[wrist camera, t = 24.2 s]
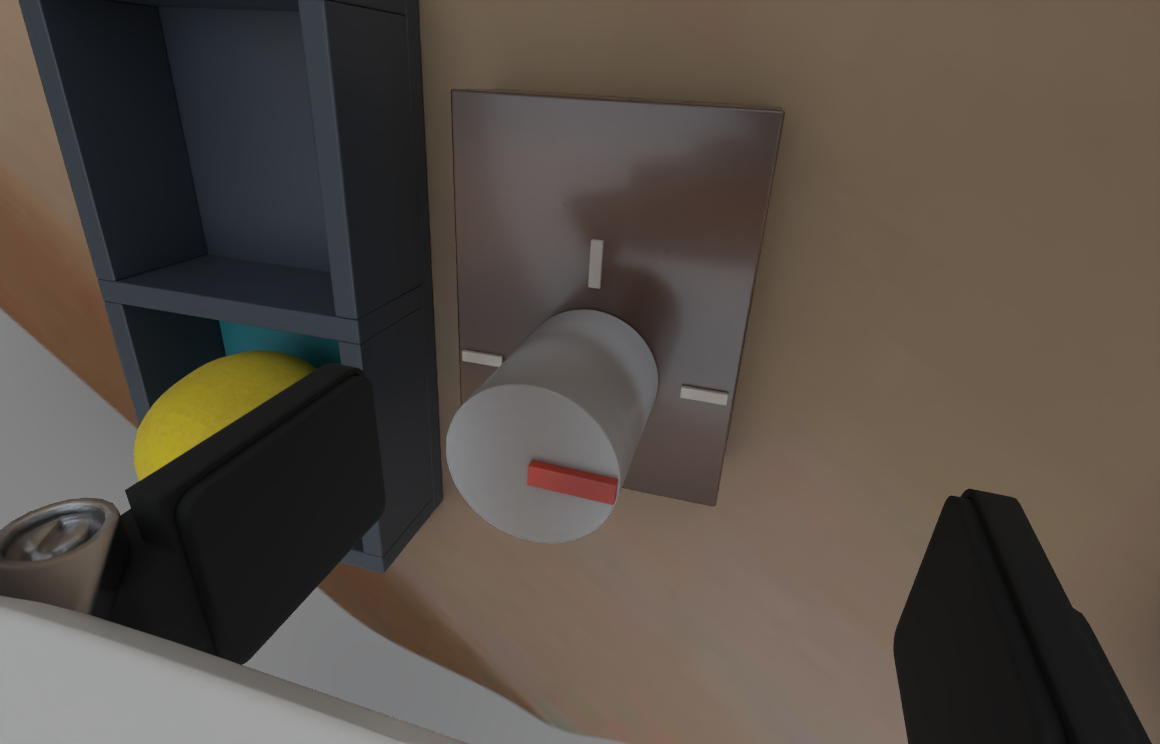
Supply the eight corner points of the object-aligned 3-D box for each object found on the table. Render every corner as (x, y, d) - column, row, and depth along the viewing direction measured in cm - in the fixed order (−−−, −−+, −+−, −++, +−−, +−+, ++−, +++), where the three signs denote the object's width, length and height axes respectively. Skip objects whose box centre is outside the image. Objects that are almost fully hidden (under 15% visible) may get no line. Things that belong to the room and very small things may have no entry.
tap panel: (492, 88, 20) (447, 89, 17) (783, 107, 18) (785, 110, 15) (494, 423, 25) (459, 464, 22) (720, 467, 23) (713, 518, 20)
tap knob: (520, 422, 21) (440, 527, 16) (525, 298, 19) (437, 373, 14) (648, 449, 20) (607, 570, 15) (667, 322, 18) (627, 411, 13)
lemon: (352, 468, 27) (204, 601, 20) (247, 392, 27) (61, 499, 20) (403, 378, 24) (252, 496, 17) (286, 293, 24) (88, 377, 17)
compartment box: (154, -18, 22) (5, -44, 17) (418, -12, 19) (319, -40, 15) (249, 456, 30) (164, 517, 26) (443, 500, 28) (384, 574, 23)
